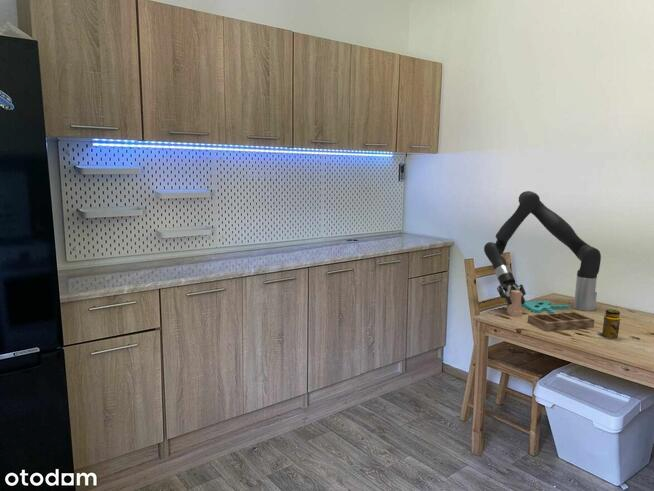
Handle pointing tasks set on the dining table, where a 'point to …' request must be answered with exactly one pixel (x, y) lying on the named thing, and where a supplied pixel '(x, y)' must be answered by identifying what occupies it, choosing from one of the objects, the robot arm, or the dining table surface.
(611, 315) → the condiment
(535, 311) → the alien figure
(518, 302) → the tan piece
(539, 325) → the rack
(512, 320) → the dining table surface
